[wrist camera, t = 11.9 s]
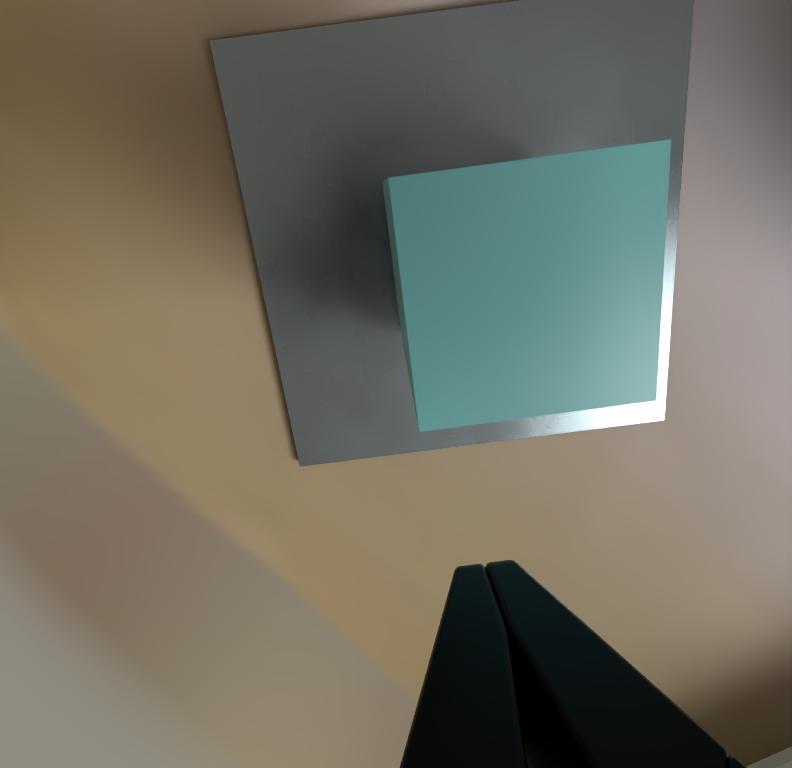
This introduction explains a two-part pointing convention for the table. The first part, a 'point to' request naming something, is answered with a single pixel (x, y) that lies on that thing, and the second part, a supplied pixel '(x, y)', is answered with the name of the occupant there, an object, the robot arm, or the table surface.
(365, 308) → the thin grey square plate
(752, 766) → the butter dish
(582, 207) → the teal tilted cuboid
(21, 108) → the table surface
